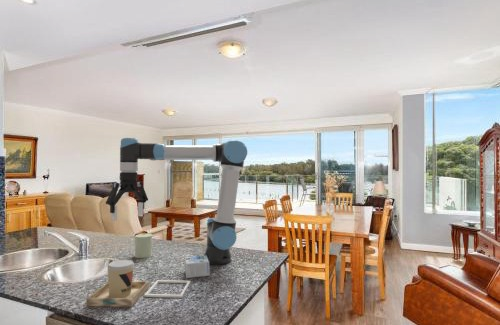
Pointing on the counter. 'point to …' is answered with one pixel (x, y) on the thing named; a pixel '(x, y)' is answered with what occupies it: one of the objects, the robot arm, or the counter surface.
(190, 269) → the light bulb box
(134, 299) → the wooden tray
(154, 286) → the white flat square frame
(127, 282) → the coffee cup
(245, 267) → the counter surface
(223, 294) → the counter surface
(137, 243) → the can
